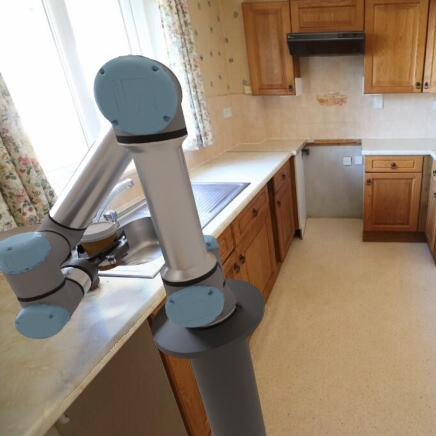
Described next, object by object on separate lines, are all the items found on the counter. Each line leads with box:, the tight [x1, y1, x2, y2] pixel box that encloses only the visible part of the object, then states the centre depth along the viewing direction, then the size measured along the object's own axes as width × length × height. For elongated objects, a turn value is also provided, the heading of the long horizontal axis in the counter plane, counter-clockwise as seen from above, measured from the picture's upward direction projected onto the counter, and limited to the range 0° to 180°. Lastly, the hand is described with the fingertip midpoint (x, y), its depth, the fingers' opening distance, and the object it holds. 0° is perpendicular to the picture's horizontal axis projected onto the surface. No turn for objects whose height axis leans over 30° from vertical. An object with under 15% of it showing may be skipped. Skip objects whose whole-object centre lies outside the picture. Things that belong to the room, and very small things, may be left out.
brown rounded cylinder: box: [89, 275, 101, 290], centre depth 100 cm, size 13×4×4 cm, turn 80°
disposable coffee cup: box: [79, 220, 123, 272], centre depth 90 cm, size 10×10×12 cm
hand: (106, 236), depth 93 cm, fingers closed on disposable coffee cup, 8 cm apart
